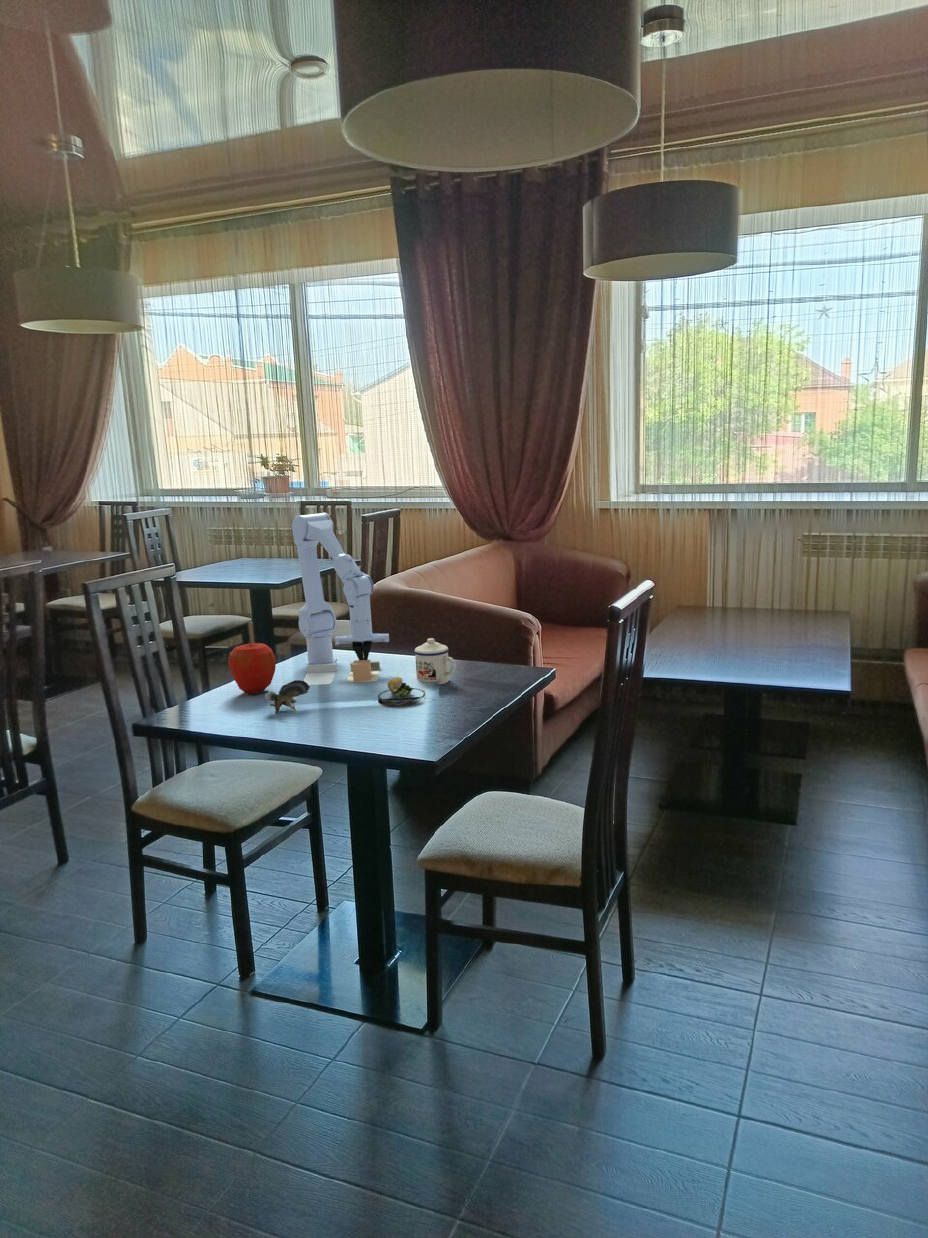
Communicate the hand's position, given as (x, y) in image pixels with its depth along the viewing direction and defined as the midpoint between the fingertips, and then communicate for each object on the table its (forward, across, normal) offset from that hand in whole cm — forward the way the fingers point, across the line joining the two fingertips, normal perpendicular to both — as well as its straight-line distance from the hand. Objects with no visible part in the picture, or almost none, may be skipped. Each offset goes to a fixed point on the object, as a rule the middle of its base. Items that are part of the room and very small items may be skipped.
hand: (364, 668), depth 239 cm
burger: (+3, +11, -24) cm, 27 cm away
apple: (+2, -28, -10) cm, 30 cm away
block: (+1, 0, -7) cm, 7 cm away
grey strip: (+2, -12, -3) cm, 13 cm away
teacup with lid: (+2, +20, -10) cm, 23 cm away
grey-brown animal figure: (+2, -16, -27) cm, 32 cm away
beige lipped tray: (+2, 0, -3) cm, 4 cm away
